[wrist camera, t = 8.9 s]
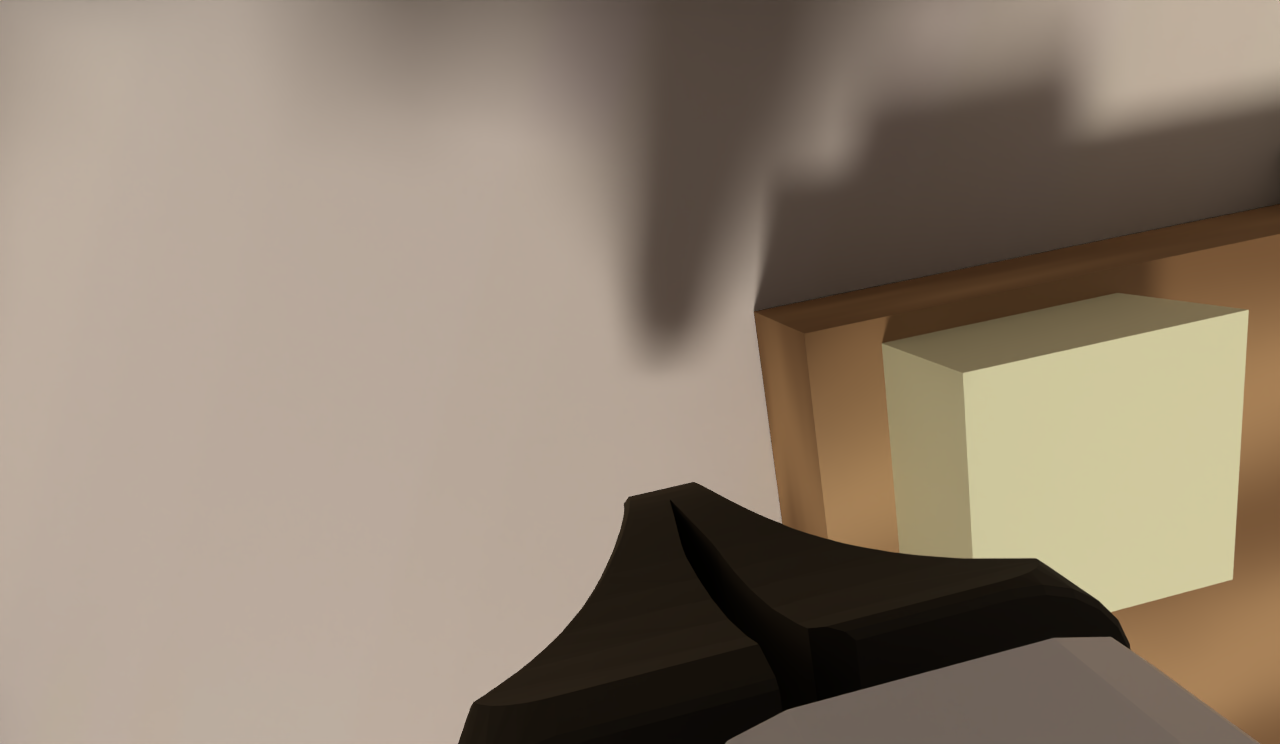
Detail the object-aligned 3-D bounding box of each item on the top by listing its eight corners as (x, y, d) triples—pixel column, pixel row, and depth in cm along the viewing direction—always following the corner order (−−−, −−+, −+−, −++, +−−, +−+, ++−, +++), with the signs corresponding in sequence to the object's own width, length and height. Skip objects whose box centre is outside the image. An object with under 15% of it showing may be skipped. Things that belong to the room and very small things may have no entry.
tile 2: (1116, 518, 14) (1233, 579, 12) (901, 572, 14) (977, 647, 11) (1117, 292, 13) (1249, 309, 11) (881, 343, 12) (962, 373, 10)
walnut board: (1252, 668, 20) (1372, 744, 17) (818, 791, 19) (869, 896, 16) (1284, 202, 16) (1443, 199, 14) (754, 311, 15) (804, 334, 12)
